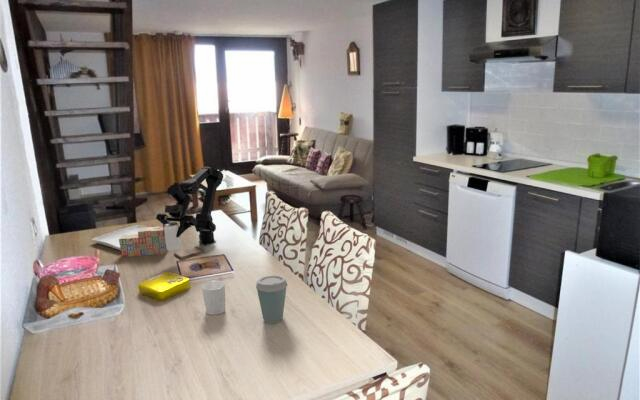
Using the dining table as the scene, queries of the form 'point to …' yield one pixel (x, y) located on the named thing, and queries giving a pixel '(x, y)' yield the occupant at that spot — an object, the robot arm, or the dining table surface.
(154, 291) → the element tile
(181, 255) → the tan flat board
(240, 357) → the dining table surface
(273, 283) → the disposable coffee cup
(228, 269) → the dining table surface
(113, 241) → the square plate
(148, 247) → the stack of blocks
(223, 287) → the white cup
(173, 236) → the can
